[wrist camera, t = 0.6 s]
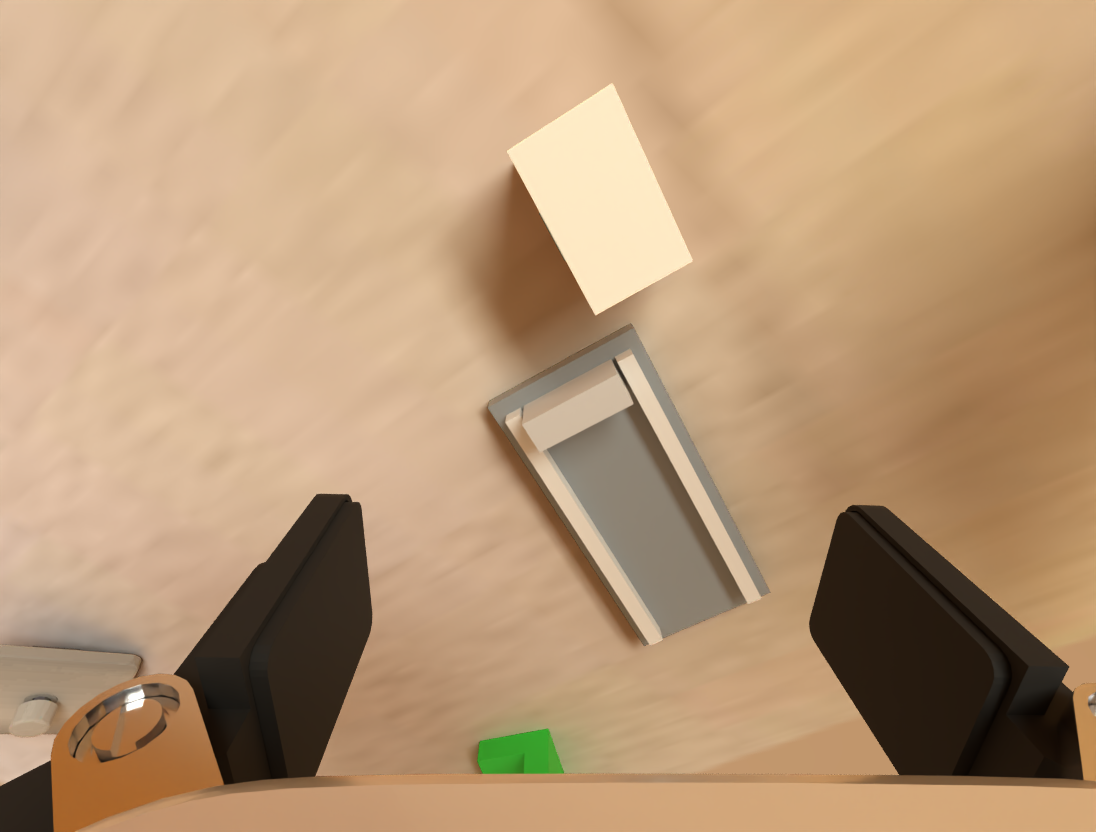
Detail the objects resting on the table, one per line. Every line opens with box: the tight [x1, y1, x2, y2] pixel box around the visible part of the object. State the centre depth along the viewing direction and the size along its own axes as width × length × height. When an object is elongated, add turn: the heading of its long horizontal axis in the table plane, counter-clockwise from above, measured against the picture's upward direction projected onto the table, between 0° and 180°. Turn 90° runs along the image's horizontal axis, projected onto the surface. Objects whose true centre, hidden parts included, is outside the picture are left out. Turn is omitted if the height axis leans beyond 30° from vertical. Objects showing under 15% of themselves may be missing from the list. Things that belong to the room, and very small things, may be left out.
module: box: [507, 83, 693, 315], centre depth 27 cm, size 5×8×7 cm, turn 30°
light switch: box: [0, 645, 141, 737], centre depth 40 cm, size 9×10×5 cm
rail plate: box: [488, 323, 771, 646], centre depth 35 cm, size 10×22×4 cm, turn 30°
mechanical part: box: [477, 729, 564, 774], centre depth 44 cm, size 12×6×8 cm, turn 14°
